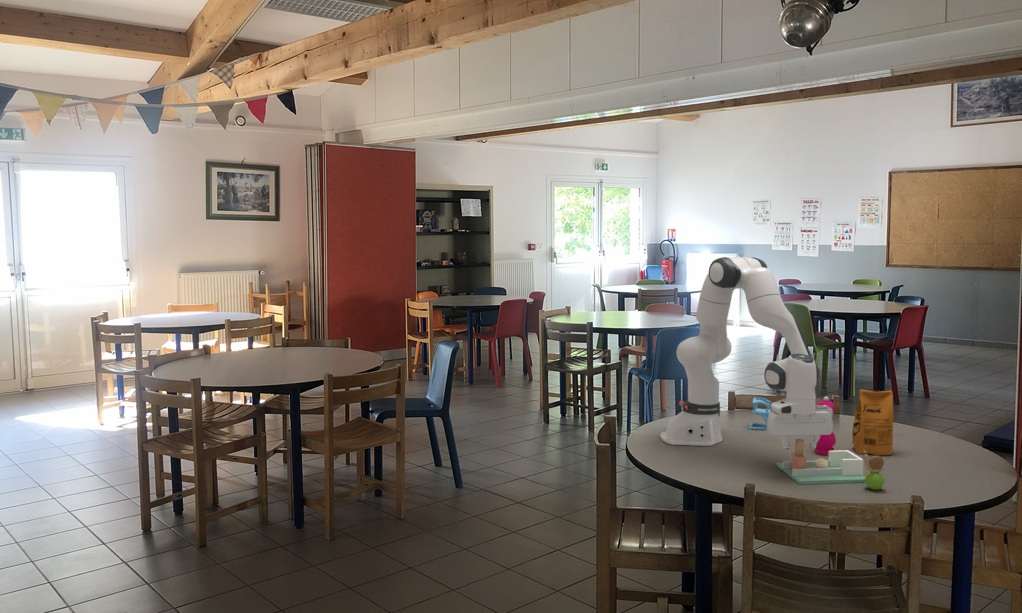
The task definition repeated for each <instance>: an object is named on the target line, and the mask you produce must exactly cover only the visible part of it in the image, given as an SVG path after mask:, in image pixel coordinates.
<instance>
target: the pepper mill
mask: <svg viewBox="0 0 1022 613" xmlns="http://www.w3.org/2000/svg"><path fill="white" fill-rule="evenodd" d="M816 405H821V406H824V405H828V406H829V407H831V408H832V410H833V415H832V421H833V419H834V413H836V412H835V411H836V407H835V406H836V405H835V404H834V403H833V402H832V401H830V398H829V397H828V396H824V397H823V398H822V400H820V401H819V402H818V403H816ZM836 439H837V438H836V436H835V433H834V431H833V432H832V433H831V434H830V435H820V439H819V440H818V442H817V443H816V448H814V453H816V454H818V455H821V456H828V455H829V451H835V448H834V446H835V445H836V442H837V440H836Z"/></svg>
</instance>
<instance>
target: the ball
mask: <svg viewBox="0 0 1022 613" xmlns="http://www.w3.org/2000/svg"><path fill="white" fill-rule="evenodd" d="M815 461H816V462H815V467H816V468H828V462H827V461H826V459H825V458H818V459H816V460H815Z"/></svg>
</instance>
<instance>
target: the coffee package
mask: <svg viewBox="0 0 1022 613" xmlns="http://www.w3.org/2000/svg"><path fill="white" fill-rule="evenodd" d="M893 394H894V393H893V391H892V390H882V391H873V390H866V389H861V388H859V397H858V401H857V405H856V408H855V409H856V410H855V412H854V420H853V423H852V424H853V425H852V433H851V434H852V437H851V438H852V441H851V442H852V444H853V449H854V452H855V453H857V454H859V455H865V452H863V451H866V454H867V455H868V454H870V455H873V456H891V455H892V454H893V442H894V440H893V437H894V431H893V430H894V403H893V398H894V395H893Z"/></svg>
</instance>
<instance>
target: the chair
mask: <svg viewBox="0 0 1022 613" xmlns="http://www.w3.org/2000/svg"><path fill="white" fill-rule="evenodd" d="M771 403H772V401H771V400H768V399H767V398H764V397H756V396H755V397H753V399H752V408H753V409H752V410H751V414H752V415H753V414H754V415H758V416H760V417H762V418H763V419H764V422H765V423H766V424H763V423H758V422H751V423H750V424H749V427H748V430H750V429H753V431H754V430H756V429H758V430H759V431H767V421H768V415H769V413H770V412H771V411H772V409H771V407H770V405H771ZM759 404H760V405H763V406H765V408H759V407H758V405H759ZM755 425H756V426H755ZM758 430H757V431H758Z"/></svg>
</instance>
